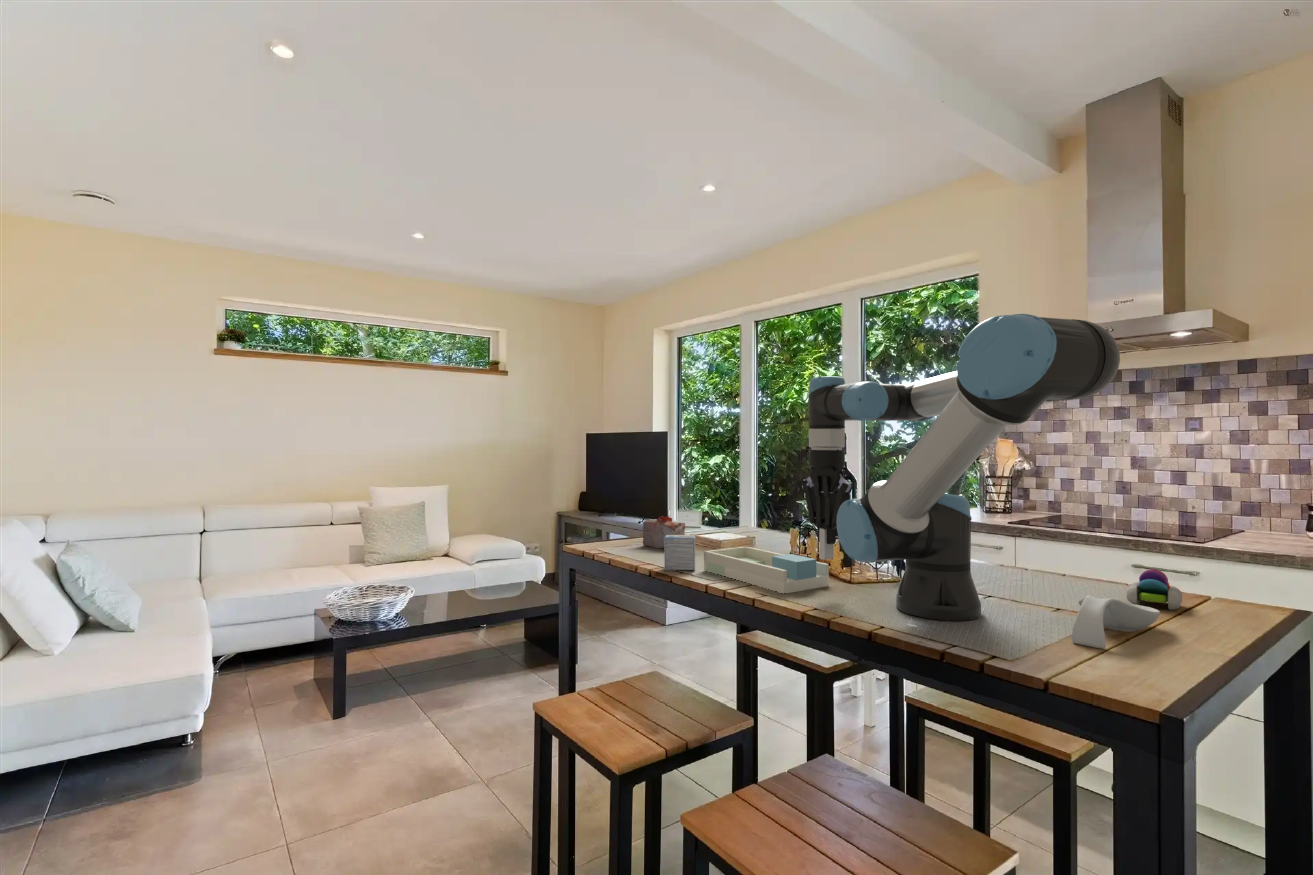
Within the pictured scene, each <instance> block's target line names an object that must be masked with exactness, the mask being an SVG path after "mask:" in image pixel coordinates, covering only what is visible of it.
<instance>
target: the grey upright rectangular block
mask: <svg viewBox="0 0 1313 875" xmlns="http://www.w3.org/2000/svg"><path fill="white" fill-rule="evenodd" d="M663 549H664V552H663V555H664V558H663V559H664V570H663V571H676V570H694V571H696V535H695V534H693V535H692V534H685V535H666V536H665V538H664V548H663ZM694 571H693V572H694Z"/></svg>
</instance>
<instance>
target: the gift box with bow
mask: <svg viewBox="0 0 1313 875" xmlns="http://www.w3.org/2000/svg"><path fill="white" fill-rule="evenodd" d="M685 530H686V523H685V522H679V521H673V518H672V517H671V516H663V515H661V516H659V517H657V519H656V518H655V519H654V518H652V519H651V518H649V519H647V520H644V521H643V522H642V546H643V547H649V546H651V547H650V548H655V549H664V538H665V536H666V535H686V534H685V533H686V532H685Z"/></svg>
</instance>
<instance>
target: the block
mask: <svg viewBox="0 0 1313 875" xmlns="http://www.w3.org/2000/svg"><path fill="white" fill-rule="evenodd" d="M816 562H817V559H816V558H812V557H807V556H802V555H797V554H794V553H793V554H792V553H790V554H789V553H788V554H784V555H780V556H772V567H775V568H779V569H783V570H787V578H790V579H794V580H802V579H808V578H814V577H816Z"/></svg>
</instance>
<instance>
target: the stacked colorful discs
mask: <svg viewBox="0 0 1313 875" xmlns="http://www.w3.org/2000/svg"><path fill="white" fill-rule="evenodd" d="M1126 600H1127V601H1128V602H1129V604H1135V605H1140V604H1139V603H1140V602H1141V601H1145V602H1151V603H1159V604H1161V603H1162V604H1165V603H1167V605H1168V610H1169V611H1175V610H1177V609H1179V608H1180V607H1181V606H1182V605H1181V604H1182V602H1183V593H1182V591H1181V590H1180V589H1179V588H1178V587H1176V586H1173V585H1170V583H1169V578H1168V576H1167V575H1166V574H1165V573H1164V572H1162V571H1161V570H1158V569H1155V568H1151V569H1147V570H1145V571H1143V572H1142V573H1141V574H1140V575H1139V577H1138V581H1136V582H1133V583H1131V584H1130V585H1129V586H1128V587H1127V589H1126Z"/></svg>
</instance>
